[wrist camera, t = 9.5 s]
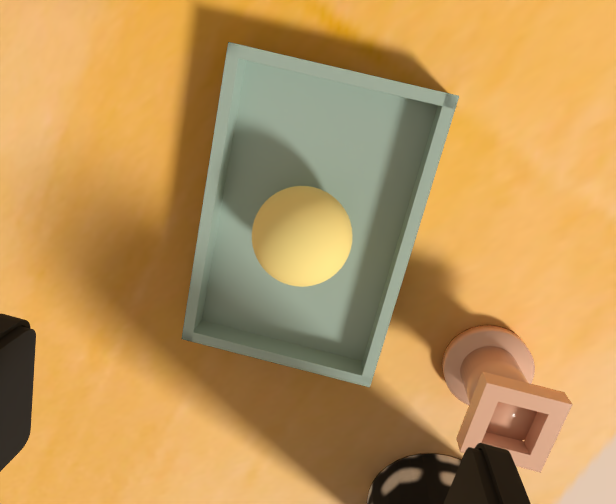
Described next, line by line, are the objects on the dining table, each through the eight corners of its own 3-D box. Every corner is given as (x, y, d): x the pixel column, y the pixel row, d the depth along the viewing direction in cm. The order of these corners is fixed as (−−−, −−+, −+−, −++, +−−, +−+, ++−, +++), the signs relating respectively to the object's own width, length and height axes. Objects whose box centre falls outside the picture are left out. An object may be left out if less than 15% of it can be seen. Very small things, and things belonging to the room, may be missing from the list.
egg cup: (457, 316, 29) (479, 371, 23) (543, 337, 28) (587, 398, 23) (431, 388, 30) (446, 456, 25) (512, 409, 30) (547, 483, 24)
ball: (273, 168, 26) (250, 185, 22) (365, 190, 26) (362, 213, 21) (256, 254, 28) (231, 287, 23) (342, 276, 28) (335, 314, 23)
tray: (240, 46, 26) (228, 42, 23) (450, 95, 25) (459, 95, 23) (195, 320, 31) (181, 339, 28) (369, 365, 30) (369, 387, 28)
